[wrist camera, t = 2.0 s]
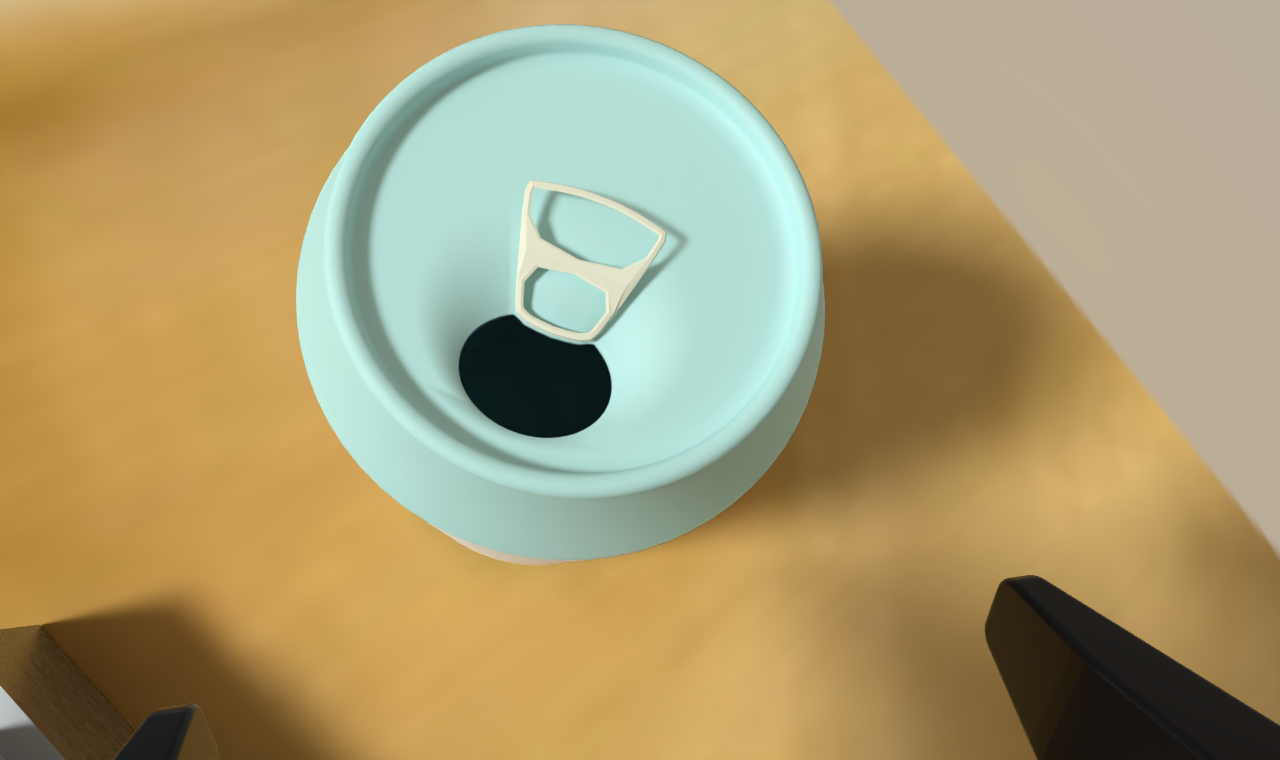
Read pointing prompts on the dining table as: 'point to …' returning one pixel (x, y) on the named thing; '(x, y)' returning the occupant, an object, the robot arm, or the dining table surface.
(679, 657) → the dining table surface
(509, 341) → the can
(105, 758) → the grey rectangular tray
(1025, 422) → the dining table surface
